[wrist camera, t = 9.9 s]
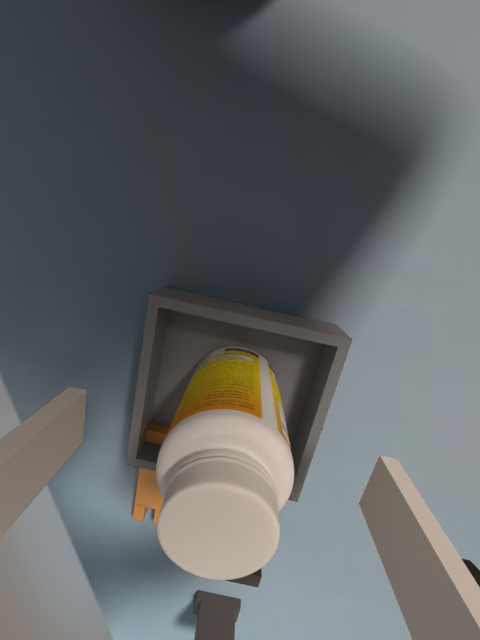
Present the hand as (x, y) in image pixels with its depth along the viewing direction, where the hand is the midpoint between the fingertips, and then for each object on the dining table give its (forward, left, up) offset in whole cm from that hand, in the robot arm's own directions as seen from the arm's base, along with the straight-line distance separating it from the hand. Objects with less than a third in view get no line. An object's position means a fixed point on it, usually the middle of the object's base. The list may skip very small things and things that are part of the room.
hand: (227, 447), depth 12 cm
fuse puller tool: (+8, -4, -7) cm, 12 cm away
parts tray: (+1, 0, -7) cm, 7 cm away
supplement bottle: (0, 0, -7) cm, 7 cm away
